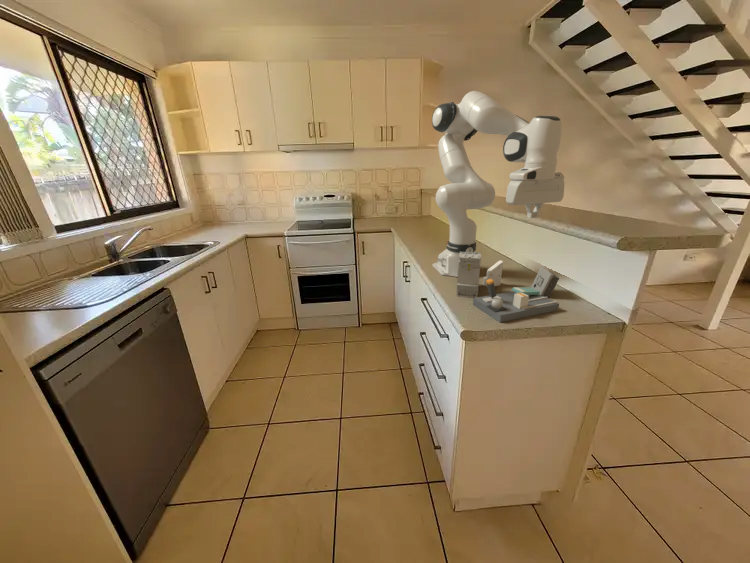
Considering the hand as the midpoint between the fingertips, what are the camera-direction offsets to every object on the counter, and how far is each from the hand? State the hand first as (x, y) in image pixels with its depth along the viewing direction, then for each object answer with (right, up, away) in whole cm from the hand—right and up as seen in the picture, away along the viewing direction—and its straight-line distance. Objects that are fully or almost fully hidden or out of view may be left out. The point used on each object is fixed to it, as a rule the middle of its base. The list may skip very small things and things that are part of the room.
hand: (532, 217), depth 102 cm
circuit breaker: (-16, -25, +19) cm, 35 cm away
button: (-13, -29, -3) cm, 32 cm away
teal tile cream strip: (+1, -24, +7) cm, 25 cm away
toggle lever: (-12, -26, +3) cm, 29 cm away
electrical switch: (+11, -26, +14) cm, 31 cm away
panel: (-5, -30, +3) cm, 30 cm away
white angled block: (-5, -23, +23) cm, 33 cm away
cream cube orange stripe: (-5, -29, -2) cm, 30 cm away
